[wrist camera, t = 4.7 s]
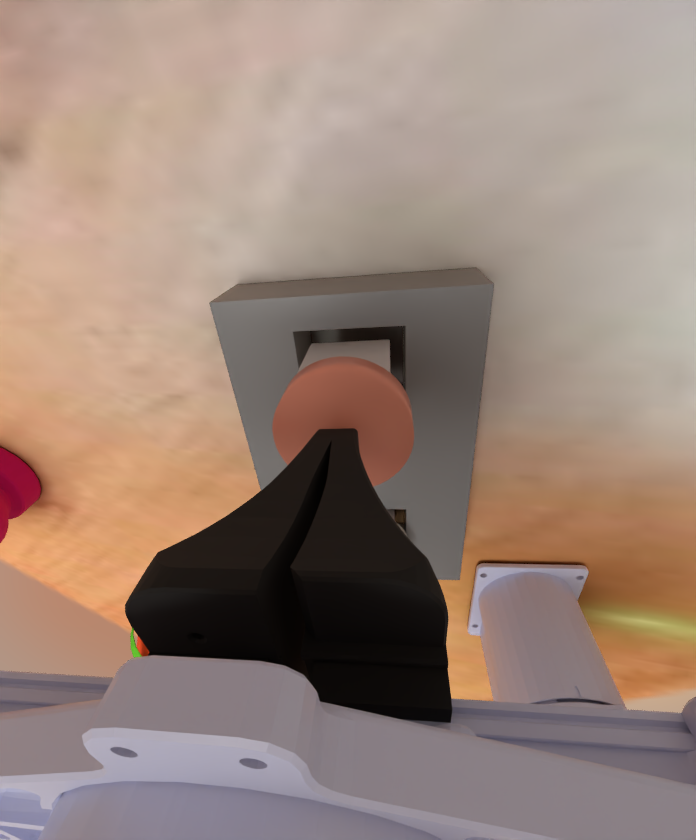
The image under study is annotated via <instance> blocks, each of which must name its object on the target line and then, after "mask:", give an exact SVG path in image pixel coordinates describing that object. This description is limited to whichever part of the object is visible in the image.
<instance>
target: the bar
mask: <svg viewBox="0 0 696 840" xmlns="http://www.w3.org/2000/svg"><path fill="white" fill-rule="evenodd" d="M493 288H494V283H492V282H491V281H490V280H489V279H488V278H487V277H486V276H485V275H484V274H483V273H482V272H481V271H479V270H478V269H477V268H463V269H449V270H435V271H421V272H407V273H393V274H379V275H365V276H351V277H337V278H323V279H309V280H295V281H281V282H267V283H253V284H239V285H235V286H234V287H232V288H231V289H229V290H228V291H226V292H225V293H223V294H222V295H220V296H219V297H217V298H216V299H214V300H213V301H211V302H209V304H210V307H211V311H212V314H213V318H214V322H215V325H216V329H217V333H218V336H219V340H220V343H221V347H222V351H223V354H224V358H225V362H226V365H227V369H228V372H229V376H230V380H231V383H232V387H233V391H234V394H235V398H236V401H237V405H238V409H239V412H240V416H241V420H242V423H243V427H244V430H245V434H246V438H247V441H248V445H249V449H250V452H251V456H252V459H253V463H254V467H255V470H256V474H257V478H258V481H259V485H260V488H261V490H263V489H264V488H265V487H266V486H267V485H268V484H269V483H271V482H272V481H273V480H274V479H275V478H276V477H277V476H278V475H279V474H280V473H281V472H282V471H283V470H284V469H285V468H286V467H287V466H288V465H287V464H286V462H285V461H284V460H283V458H282V457H281V455H280V454H279V452H278V450H277V448H276V445H275V442H274V438H273V432H272V424H273V418H274V414H275V411H276V408H277V406H278V404H279V402H280V400H281V398H282V396H283V394H284V392H285V390H286V388H287V386H288V384H289V383H290V381H291V380H292V379H293V377H294V376H295V375H296V374H297V372H298V370H299V368H300V366H301V364H302V362H303V360H304V358H305V356H306V353H307V351H308V349H309V347H310V345H311V335H310V331H314V330H332V329H351V328H369V327H387V326H403V388H404V389H405V391H406V393H407V395H408V398H409V400H410V404H411V408H412V418H413V427H414V444H413V448H412V452H411V454H410V456H409V458H408V460H407V462H406V463H405V465H404V466H403V467H402V468H401V470H400V471H399V472H398V473H396V474H395V475H394V476H393V477H391V478H390V479H388V480H387V481H385V482H383V483H381V484H379V485H376V486H374V489H375V491H376V493H377V495H378V497H379V498H380V500H381V502H382V503H383V505H384V506H385V508H386V509H404V524H399V525H400V526H401V527H402V528H403V529H404V531H405V533H406V535H407V537H408V538H409V539H410V541H411V542H412V543H413V544H414V545H415V546H416V547H417V548H418V549H419V550H420V551H421V552H422V553H423V554H424V555H425V556H426V557H427V558H428V560H429V562H430V564H431V566H432V569H433V571H434V573H435V575H436V577H437V579H441V580H460V572H461V564H462V555H463V546H464V538H465V529H466V521H467V512H468V503H469V495H470V486H471V477H472V469H473V460H474V452H475V443H476V434H477V426H478V417H479V408H480V400H481V391H482V383H483V374H484V365H485V357H486V348H487V339H488V331H489V322H490V314H491V305H492V296H493Z"/></svg>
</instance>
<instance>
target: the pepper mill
mask: <svg viewBox="0 0 696 840" xmlns="http://www.w3.org/2000/svg"><path fill="white" fill-rule="evenodd" d="M40 492H41V486H40V483H39V480H38V478H37V476H36V475H35V473H34V472H33V471H32V470H31V469H30V468H29V466H28V465H27V464H26V463H24V462H23V461H22V460H21V459H20V458H18V457H17V456H15V455H14V454H12V453H10V452H8V451H7V450H5V449H3V448H0V543H1V542H2V540H3V539H4V538H5V535H6V533H7V529H8V519H13V518H16V517H18V516H20V515H21V514H22V513H23V512H25V511H26V510H27V509H28V508H29V507H30V506H31V505H32V504H33V503H34V502H36V501H37V500H38V498H39V496H40Z"/></svg>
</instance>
